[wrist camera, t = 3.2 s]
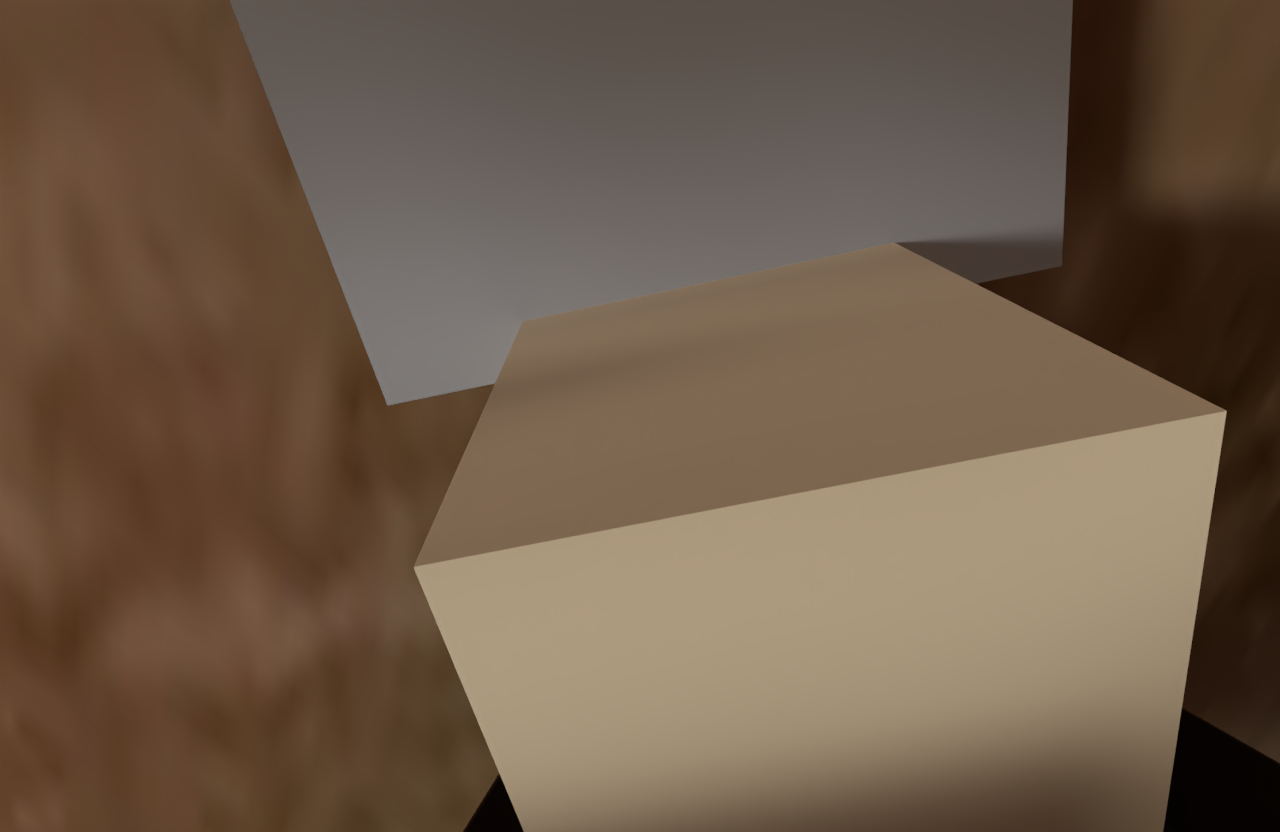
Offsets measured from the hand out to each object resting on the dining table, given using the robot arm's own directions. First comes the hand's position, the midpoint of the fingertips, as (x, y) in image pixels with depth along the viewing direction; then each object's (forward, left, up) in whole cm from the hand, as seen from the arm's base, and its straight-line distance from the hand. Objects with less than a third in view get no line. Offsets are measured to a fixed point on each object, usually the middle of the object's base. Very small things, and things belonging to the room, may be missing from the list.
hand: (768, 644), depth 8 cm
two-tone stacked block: (+2, 0, -1) cm, 2 cm away
